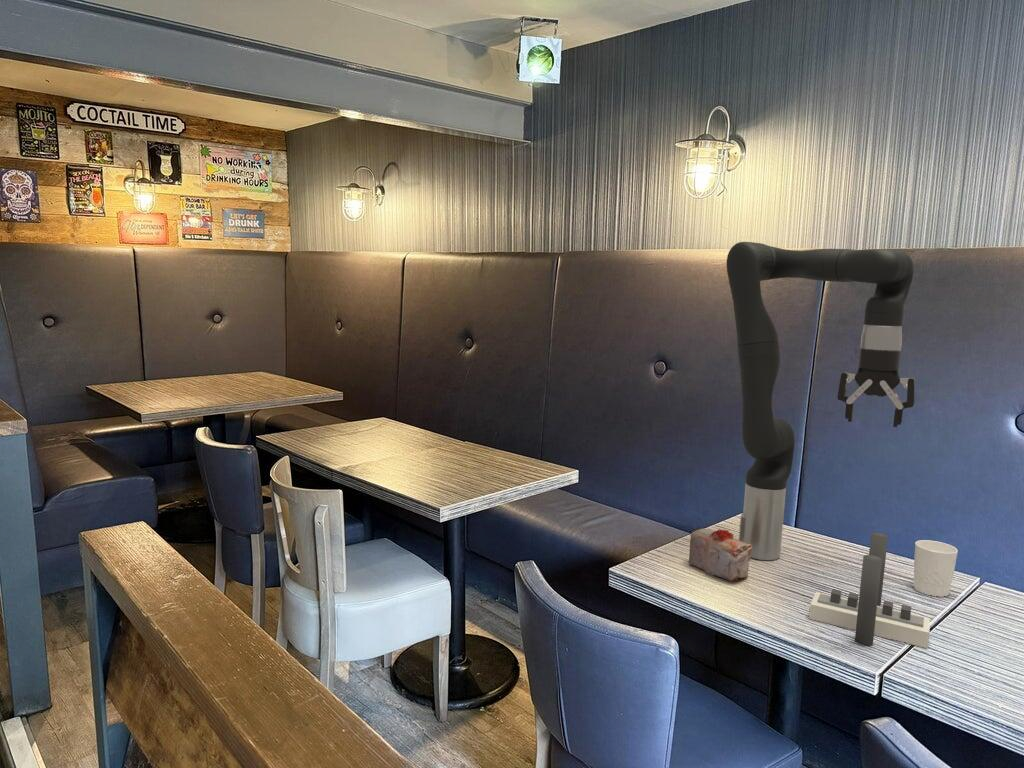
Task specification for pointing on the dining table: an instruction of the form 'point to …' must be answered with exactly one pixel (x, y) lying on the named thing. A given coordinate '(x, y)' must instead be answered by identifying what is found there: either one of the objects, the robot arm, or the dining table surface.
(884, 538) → the dark grey cylinder rod
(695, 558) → the food item
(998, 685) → the dining table surface
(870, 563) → the dark grey post
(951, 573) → the white cup
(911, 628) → the breaker panel
